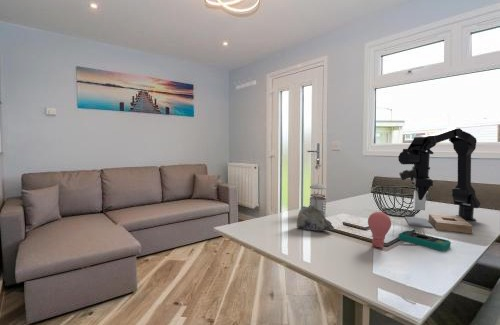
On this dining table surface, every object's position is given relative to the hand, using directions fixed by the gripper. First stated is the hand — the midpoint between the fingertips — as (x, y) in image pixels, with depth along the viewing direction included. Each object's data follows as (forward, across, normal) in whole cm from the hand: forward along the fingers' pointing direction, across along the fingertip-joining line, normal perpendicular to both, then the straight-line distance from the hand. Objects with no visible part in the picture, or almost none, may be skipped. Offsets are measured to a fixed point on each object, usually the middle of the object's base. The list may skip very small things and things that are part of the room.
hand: (419, 199), depth 123 cm
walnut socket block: (+11, 0, +11) cm, 16 cm away
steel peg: (+4, 0, 0) cm, 4 cm away
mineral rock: (+11, +32, -41) cm, 53 cm away
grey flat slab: (+11, 0, 0) cm, 11 cm away
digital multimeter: (+11, +30, -3) cm, 32 cm away
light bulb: (+11, +41, -18) cm, 46 cm away
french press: (+11, +8, -44) cm, 46 cm away
